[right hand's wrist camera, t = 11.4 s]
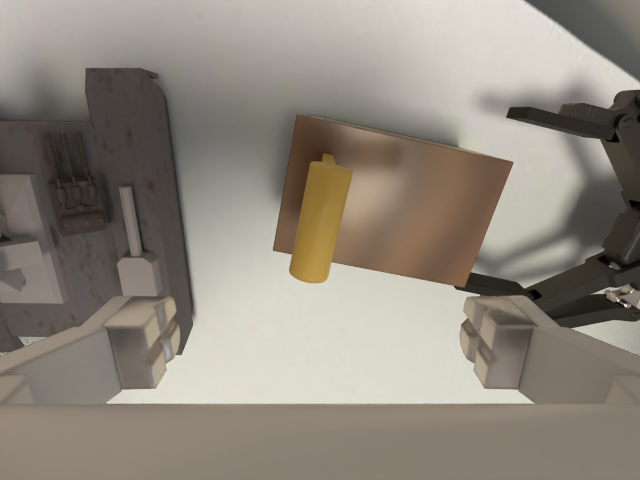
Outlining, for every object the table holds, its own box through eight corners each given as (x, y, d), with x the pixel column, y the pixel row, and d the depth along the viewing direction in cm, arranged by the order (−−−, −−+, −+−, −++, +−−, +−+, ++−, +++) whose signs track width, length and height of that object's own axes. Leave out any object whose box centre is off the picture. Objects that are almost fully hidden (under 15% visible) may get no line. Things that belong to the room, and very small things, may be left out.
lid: (274, 246, 27) (254, 305, 19) (297, 114, 23) (285, 116, 15) (460, 283, 28) (517, 353, 20) (508, 160, 24) (598, 185, 16)
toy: (198, 325, 39) (130, 446, 25) (17, 323, 39) (-152, 443, 25) (167, 74, 31) (37, 43, 17) (-66, 70, 31) (-395, 37, 16)
